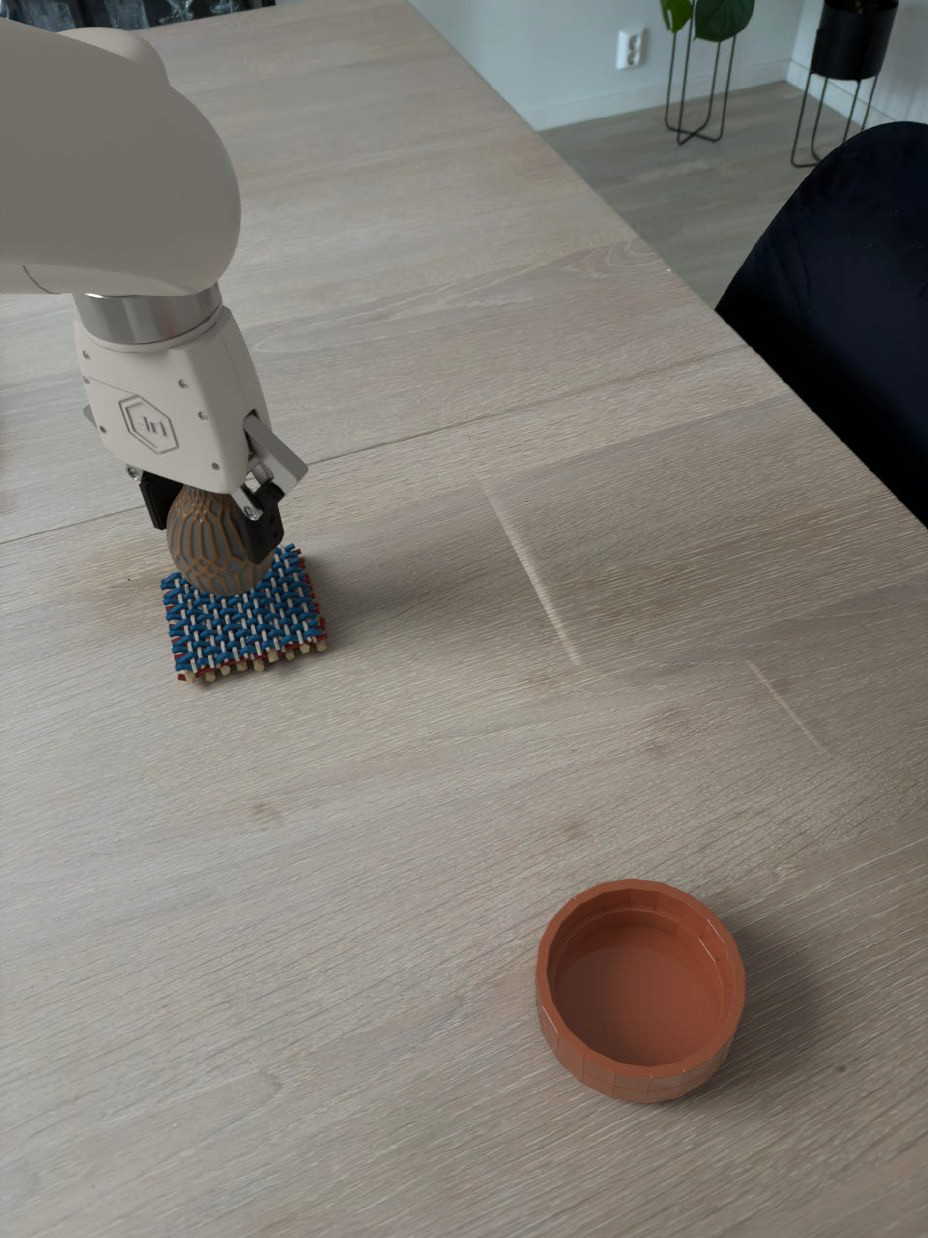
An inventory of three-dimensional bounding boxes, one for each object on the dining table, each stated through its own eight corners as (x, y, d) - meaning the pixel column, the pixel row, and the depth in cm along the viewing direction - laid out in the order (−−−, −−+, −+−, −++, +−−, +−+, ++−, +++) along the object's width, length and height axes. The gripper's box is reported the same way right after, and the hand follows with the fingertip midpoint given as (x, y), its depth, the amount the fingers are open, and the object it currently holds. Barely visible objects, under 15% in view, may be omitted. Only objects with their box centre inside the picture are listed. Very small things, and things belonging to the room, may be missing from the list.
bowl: (695, 1144, 53) (705, 1117, 50) (503, 1049, 57) (501, 1018, 54) (760, 961, 59) (772, 927, 56) (583, 885, 63) (585, 850, 60)
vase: (196, 625, 72) (162, 527, 65) (171, 559, 76) (137, 461, 69) (296, 591, 73) (273, 492, 67) (266, 528, 78) (241, 429, 71)
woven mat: (335, 653, 75) (330, 633, 74) (182, 694, 74) (174, 675, 72) (303, 553, 82) (299, 534, 81) (162, 589, 80) (155, 570, 79)
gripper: (-23, 291, 59) (80, 531, 72) (239, 365, 53) (299, 612, 66) (70, 226, 63) (151, 464, 77) (321, 288, 58) (362, 534, 71)
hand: (219, 531), depth 71 cm, fingers closed on vase, 6 cm apart
